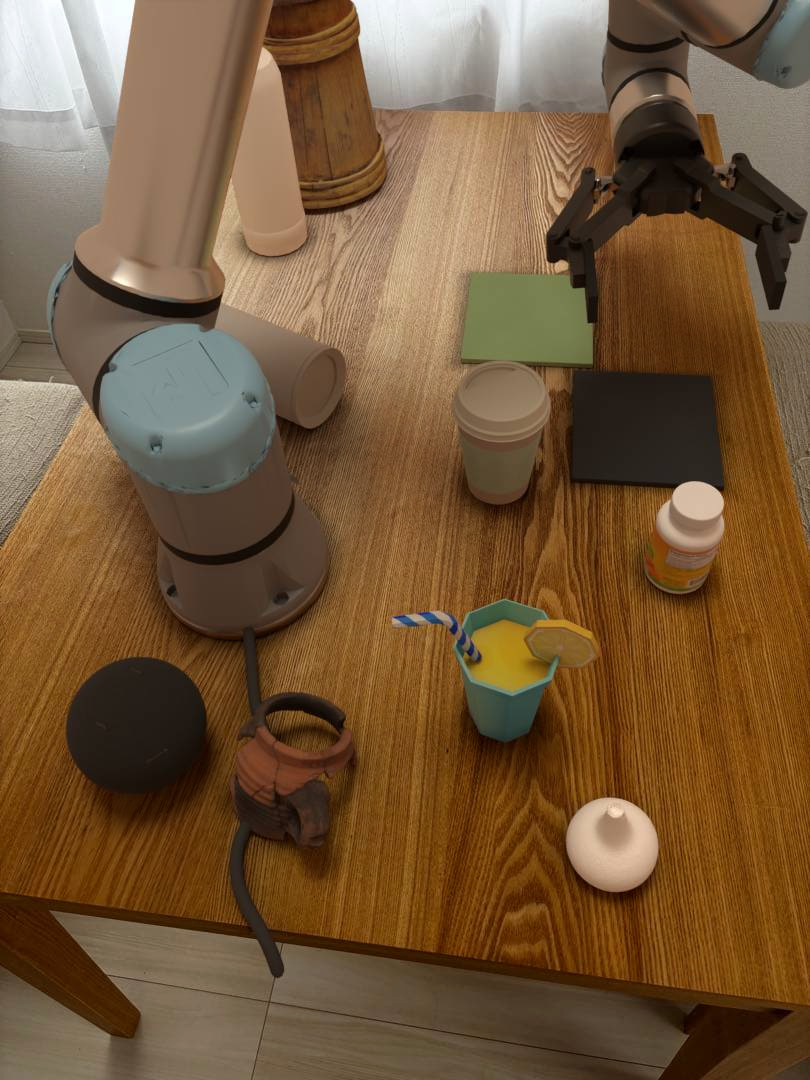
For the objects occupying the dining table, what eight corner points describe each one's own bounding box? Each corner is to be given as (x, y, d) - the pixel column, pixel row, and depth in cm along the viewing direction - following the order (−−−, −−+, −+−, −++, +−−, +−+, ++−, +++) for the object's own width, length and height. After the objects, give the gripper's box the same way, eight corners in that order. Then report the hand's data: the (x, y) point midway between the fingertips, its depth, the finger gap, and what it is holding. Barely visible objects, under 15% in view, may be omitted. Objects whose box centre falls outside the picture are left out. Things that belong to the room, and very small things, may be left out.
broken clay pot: (208, 772, 68) (224, 689, 64) (318, 754, 72) (339, 677, 69) (256, 897, 59) (278, 811, 55) (379, 868, 64) (406, 786, 60)
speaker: (188, 828, 65) (149, 778, 57) (70, 795, 67) (16, 742, 59) (239, 709, 70) (210, 648, 62) (129, 682, 72) (87, 619, 64)
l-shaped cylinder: (295, 308, 98) (125, 370, 94) (288, 239, 89) (99, 304, 84) (364, 427, 92) (185, 500, 87) (364, 367, 82) (164, 445, 78)
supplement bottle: (648, 539, 78) (668, 468, 70) (709, 552, 77) (736, 481, 69) (638, 587, 75) (658, 518, 67) (702, 602, 74) (730, 533, 66)
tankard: (239, 212, 113) (191, 3, 93) (279, 120, 127) (244, -80, 107) (376, 216, 111) (356, 2, 91) (401, 121, 124) (388, -82, 104)
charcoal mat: (723, 490, 81) (724, 486, 80) (571, 481, 83) (572, 477, 82) (710, 379, 90) (711, 375, 89) (573, 373, 91) (573, 369, 91)
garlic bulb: (654, 903, 60) (676, 869, 53) (562, 889, 61) (573, 854, 54) (653, 813, 63) (674, 771, 57) (566, 802, 64) (577, 759, 58)
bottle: (285, 212, 112) (236, -52, 88) (320, 238, 108) (280, -31, 84) (233, 238, 110) (168, -28, 86) (268, 265, 106) (210, -5, 82)
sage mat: (592, 368, 92) (593, 363, 91) (460, 362, 93) (460, 358, 93) (592, 280, 101) (592, 275, 100) (471, 276, 102) (471, 272, 102)
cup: (404, 760, 67) (390, 667, 55) (404, 670, 72) (391, 566, 60) (586, 755, 66) (612, 661, 54) (574, 665, 71) (596, 560, 59)
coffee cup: (542, 450, 85) (552, 356, 76) (542, 518, 80) (552, 427, 71) (455, 447, 86) (454, 354, 76) (450, 514, 81) (447, 424, 71)
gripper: (792, 163, 79) (844, 328, 67) (516, 190, 83) (520, 350, 71) (812, 82, 73) (873, 248, 61) (513, 115, 76) (517, 277, 65)
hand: (684, 303), depth 66 cm, fingers open, 13 cm apart
